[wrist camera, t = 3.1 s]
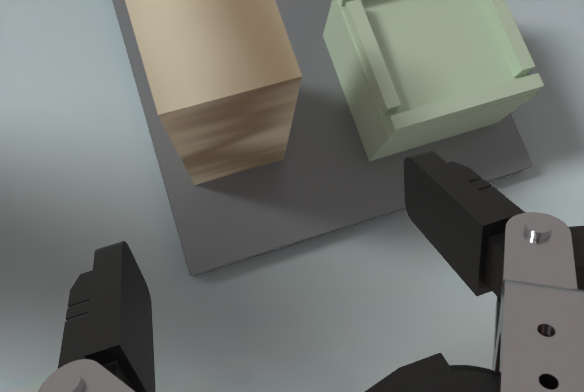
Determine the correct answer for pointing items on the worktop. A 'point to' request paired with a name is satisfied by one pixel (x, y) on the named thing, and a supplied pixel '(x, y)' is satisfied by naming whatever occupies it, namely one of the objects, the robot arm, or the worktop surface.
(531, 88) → the green plinth
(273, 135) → the birch pillar
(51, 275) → the worktop surface
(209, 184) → the grey flat plate
